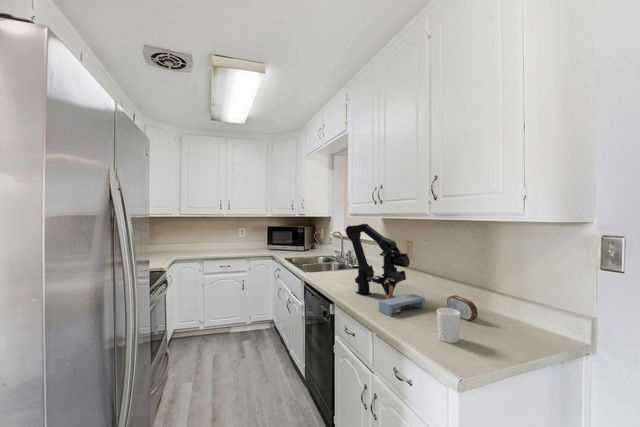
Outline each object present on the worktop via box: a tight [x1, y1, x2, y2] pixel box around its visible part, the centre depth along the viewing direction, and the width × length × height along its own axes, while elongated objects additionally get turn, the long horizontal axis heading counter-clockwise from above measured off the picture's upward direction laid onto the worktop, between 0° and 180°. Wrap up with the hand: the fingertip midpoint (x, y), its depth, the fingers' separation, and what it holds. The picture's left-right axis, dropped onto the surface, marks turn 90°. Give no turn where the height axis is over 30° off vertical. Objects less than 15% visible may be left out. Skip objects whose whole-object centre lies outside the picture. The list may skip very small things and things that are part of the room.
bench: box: [378, 293, 426, 317], centre depth 136 cm, size 7×22×5 cm, turn 119°
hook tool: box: [385, 285, 413, 311], centre depth 144 cm, size 16×7×7 cm, turn 29°
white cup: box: [436, 307, 461, 344], centre depth 104 cm, size 8×8×10 cm
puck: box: [392, 307, 401, 314], centre depth 134 cm, size 4×4×2 cm
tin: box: [446, 295, 478, 321], centre depth 126 cm, size 15×3×8 cm, turn 18°
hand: (389, 294), depth 151 cm, fingers closed on hook tool, 2 cm apart
